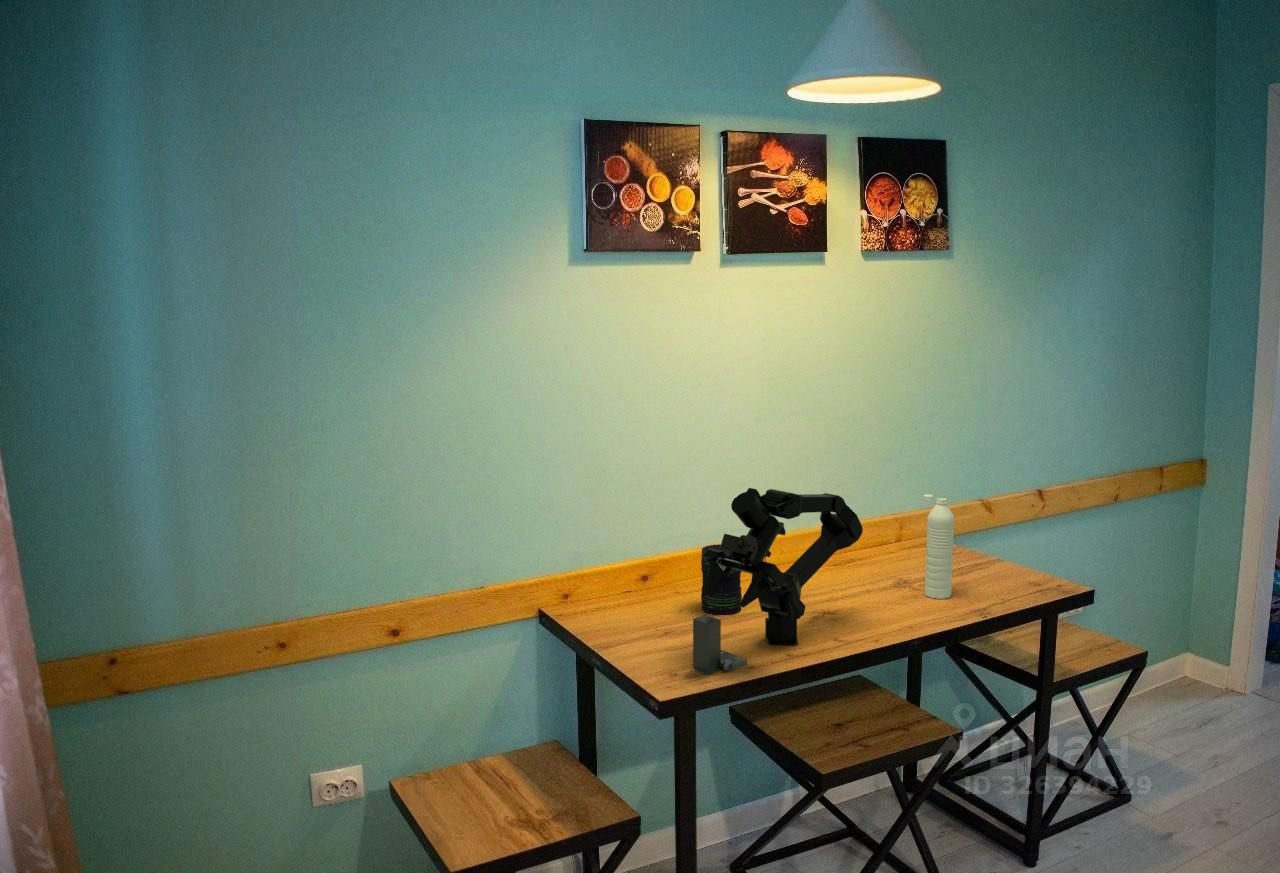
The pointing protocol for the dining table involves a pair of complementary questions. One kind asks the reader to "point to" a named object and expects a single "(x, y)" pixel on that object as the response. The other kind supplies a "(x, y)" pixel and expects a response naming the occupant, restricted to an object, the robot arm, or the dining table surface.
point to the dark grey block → (707, 644)
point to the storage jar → (721, 589)
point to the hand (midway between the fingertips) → (724, 601)
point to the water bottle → (939, 550)
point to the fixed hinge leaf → (731, 661)
